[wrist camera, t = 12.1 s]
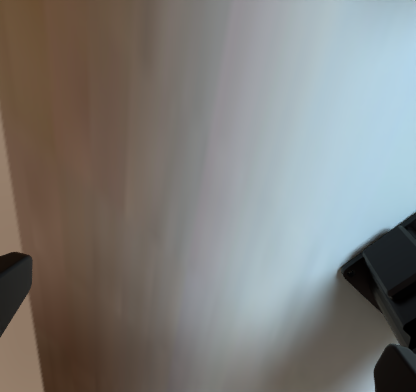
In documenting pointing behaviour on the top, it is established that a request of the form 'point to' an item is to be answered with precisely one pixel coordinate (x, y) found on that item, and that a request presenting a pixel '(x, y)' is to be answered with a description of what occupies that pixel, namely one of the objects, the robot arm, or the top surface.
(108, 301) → the top surface
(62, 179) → the top surface
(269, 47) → the top surface
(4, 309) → the robot arm
